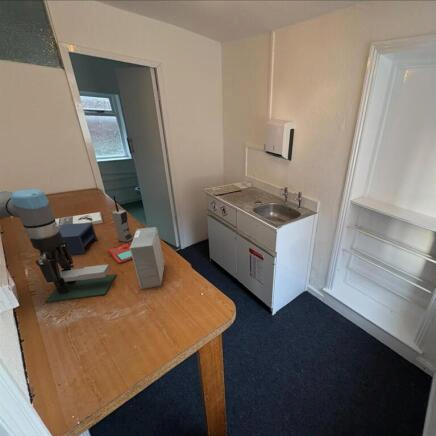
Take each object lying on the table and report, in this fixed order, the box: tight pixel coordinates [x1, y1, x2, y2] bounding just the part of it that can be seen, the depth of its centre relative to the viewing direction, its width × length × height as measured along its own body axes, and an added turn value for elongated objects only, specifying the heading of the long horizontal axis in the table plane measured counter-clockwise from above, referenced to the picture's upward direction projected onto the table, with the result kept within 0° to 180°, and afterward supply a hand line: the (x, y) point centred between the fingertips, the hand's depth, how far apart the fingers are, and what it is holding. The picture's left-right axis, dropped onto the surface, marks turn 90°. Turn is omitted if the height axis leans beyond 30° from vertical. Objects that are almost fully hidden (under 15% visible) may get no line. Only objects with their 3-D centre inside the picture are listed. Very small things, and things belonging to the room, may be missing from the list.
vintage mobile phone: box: [111, 195, 134, 243], centre depth 119 cm, size 4×5×25 cm
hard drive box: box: [130, 226, 166, 290], centre depth 96 cm, size 16×8×20 cm, turn 22°
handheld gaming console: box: [107, 242, 133, 265], centre depth 112 cm, size 9×1×15 cm
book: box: [55, 211, 104, 228], centre depth 136 cm, size 23×14×2 cm, turn 130°
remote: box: [44, 263, 111, 285], centre depth 88 cm, size 18×5×2 cm, turn 107°
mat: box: [44, 273, 118, 304], centre depth 91 cm, size 18×12×1 cm, turn 107°
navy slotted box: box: [59, 223, 98, 256], centre depth 112 cm, size 12×14×10 cm
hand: (67, 287), depth 89 cm, fingers closed on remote, 5 cm apart
